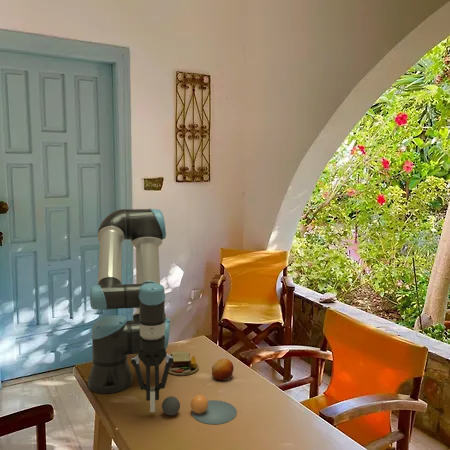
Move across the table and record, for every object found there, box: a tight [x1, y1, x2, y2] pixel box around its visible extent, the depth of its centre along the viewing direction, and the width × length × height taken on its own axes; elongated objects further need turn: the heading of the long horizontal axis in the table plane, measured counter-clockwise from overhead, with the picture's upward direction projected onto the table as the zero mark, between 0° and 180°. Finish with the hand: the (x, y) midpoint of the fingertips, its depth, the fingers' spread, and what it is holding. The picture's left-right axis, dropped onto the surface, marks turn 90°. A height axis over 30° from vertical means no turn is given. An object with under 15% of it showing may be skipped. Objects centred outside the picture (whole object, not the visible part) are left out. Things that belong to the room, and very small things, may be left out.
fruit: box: [211, 358, 235, 382], centre depth 169 cm, size 8×8×8 cm
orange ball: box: [189, 394, 209, 414], centre depth 145 cm, size 6×6×6 cm
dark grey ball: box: [161, 395, 181, 416], centre depth 144 cm, size 6×6×6 cm
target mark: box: [191, 399, 238, 425], centre depth 145 cm, size 14×14×1 cm
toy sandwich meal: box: [168, 350, 200, 377], centre depth 176 cm, size 12×14×5 cm
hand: (152, 409), depth 143 cm, fingers closed
